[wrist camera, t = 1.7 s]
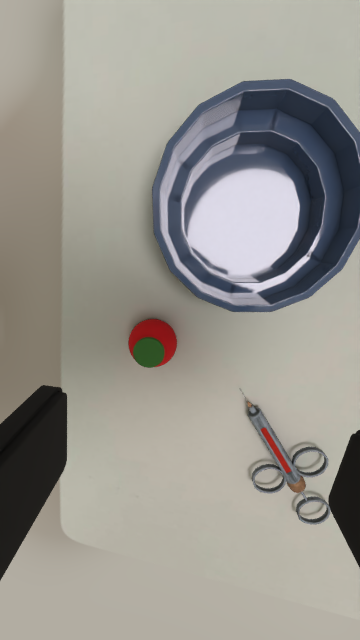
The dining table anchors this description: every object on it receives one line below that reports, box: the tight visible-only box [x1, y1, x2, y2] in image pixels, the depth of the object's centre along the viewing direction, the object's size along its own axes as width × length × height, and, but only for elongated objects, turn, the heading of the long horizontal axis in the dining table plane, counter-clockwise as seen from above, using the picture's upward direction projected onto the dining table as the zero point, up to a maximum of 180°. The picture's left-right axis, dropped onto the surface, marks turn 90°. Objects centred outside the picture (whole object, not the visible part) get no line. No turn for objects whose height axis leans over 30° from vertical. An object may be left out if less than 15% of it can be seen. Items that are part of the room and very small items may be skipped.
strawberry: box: [129, 319, 177, 368], centre depth 22 cm, size 4×4×4 cm
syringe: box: [239, 388, 330, 524], centre depth 26 cm, size 8×18×2 cm, turn 31°
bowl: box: [152, 79, 360, 312], centre depth 19 cm, size 13×13×5 cm
